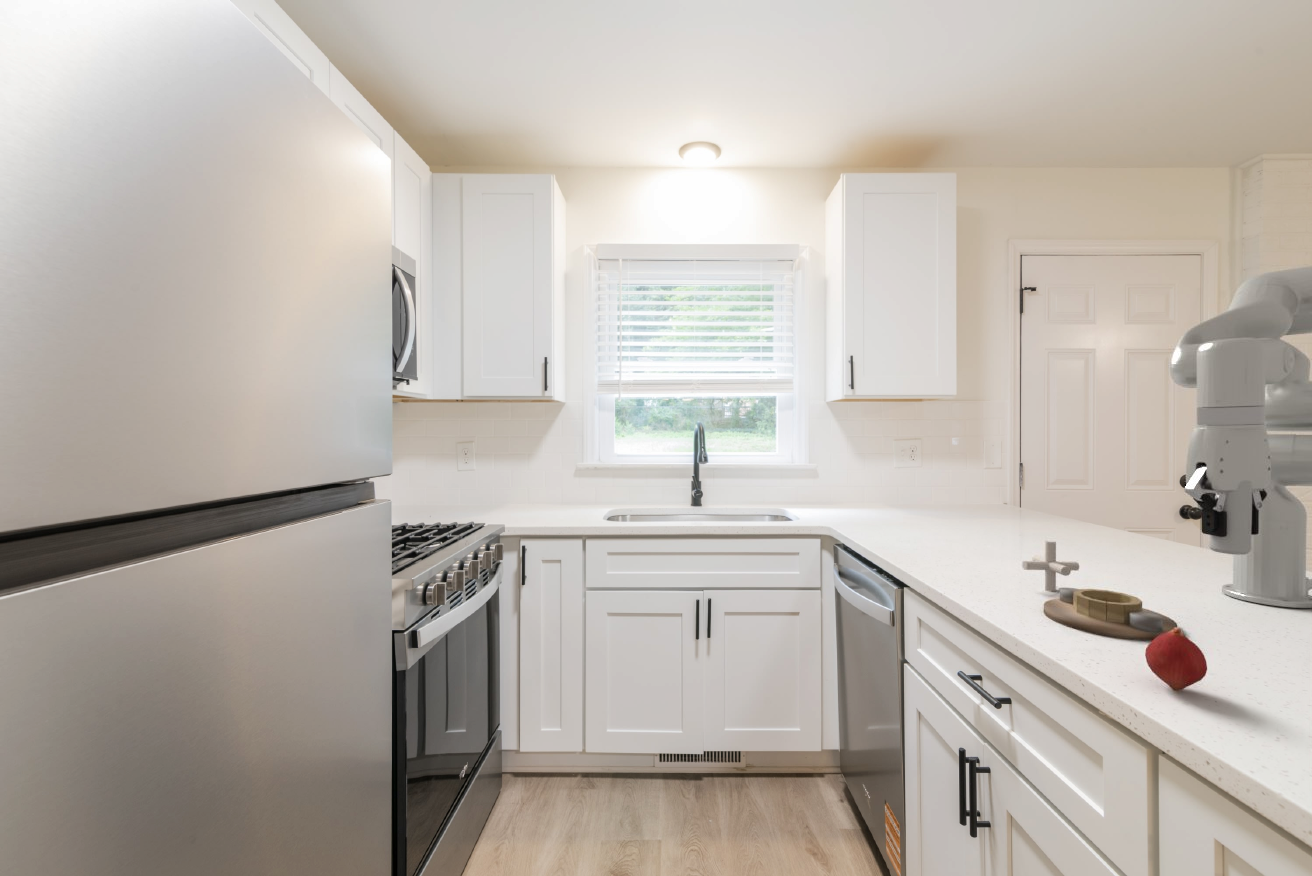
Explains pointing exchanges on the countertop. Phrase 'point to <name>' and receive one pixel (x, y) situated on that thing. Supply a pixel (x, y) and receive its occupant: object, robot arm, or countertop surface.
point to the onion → (1176, 659)
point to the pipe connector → (1050, 565)
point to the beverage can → (1235, 522)
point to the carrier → (1107, 614)
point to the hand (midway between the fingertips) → (1229, 532)
